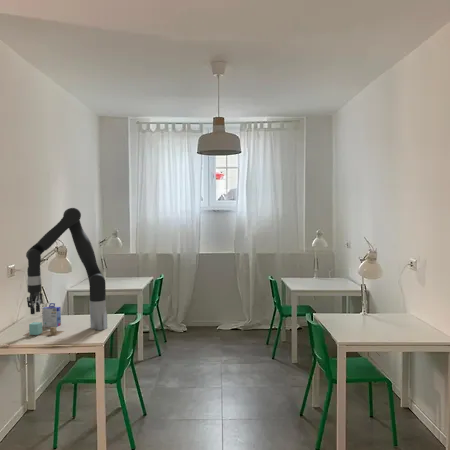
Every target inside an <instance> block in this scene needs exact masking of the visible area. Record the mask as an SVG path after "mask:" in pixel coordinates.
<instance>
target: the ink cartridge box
mask: <svg viewBox="0 0 450 450" xmlns="http://www.w3.org/2000/svg"><path fill="white" fill-rule="evenodd" d="M41 309H42V311H41V312H42V313H41V314H42V315H41V316H42V328H43V327H45V328H46V327H48V328H49V327H50V328H51V327H56V328H57V327H60V326H61V325H62V316H61V315H62V311H61V306H56V303H52V302H51V303H50V302H49V306H45V307H42V308H41Z"/></svg>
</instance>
